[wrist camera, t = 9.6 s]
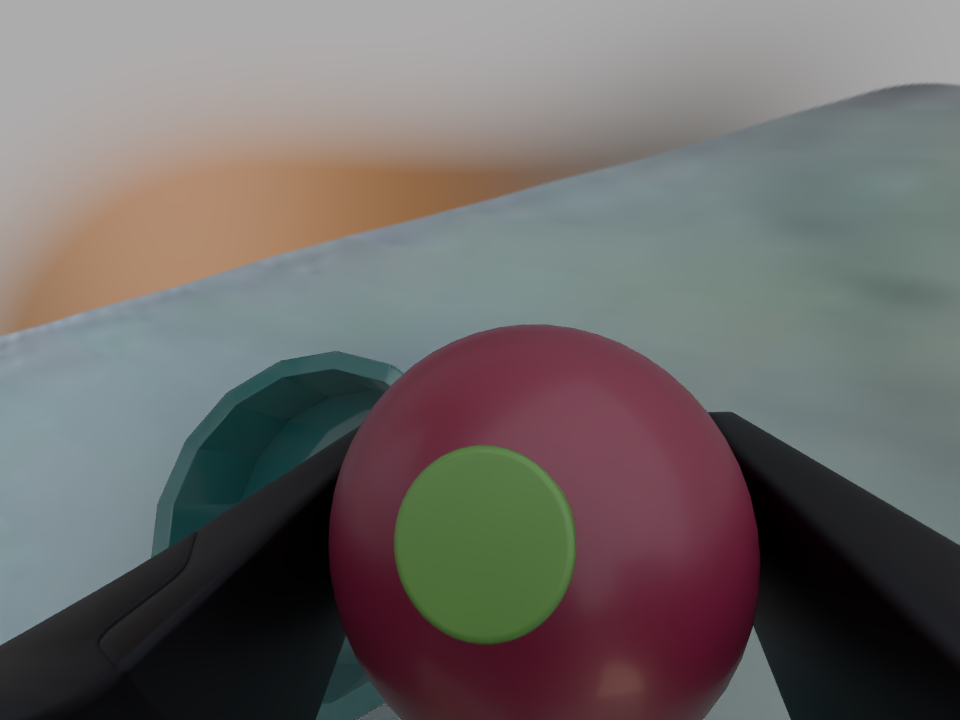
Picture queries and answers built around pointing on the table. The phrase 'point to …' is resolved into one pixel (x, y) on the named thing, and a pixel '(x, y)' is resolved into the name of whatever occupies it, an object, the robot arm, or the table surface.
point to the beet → (543, 536)
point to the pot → (275, 464)
